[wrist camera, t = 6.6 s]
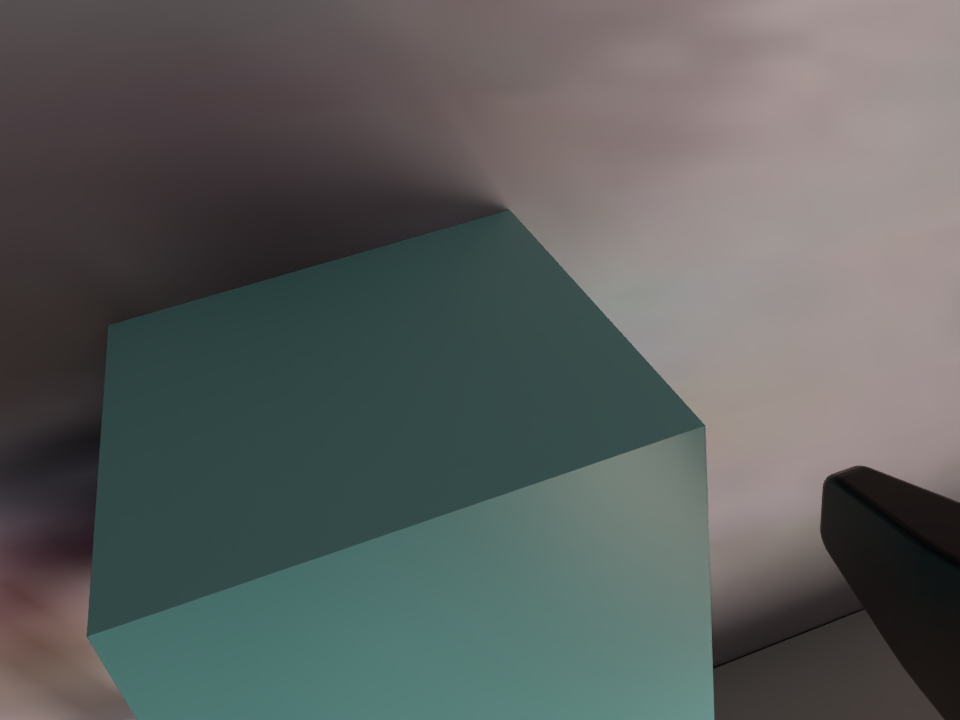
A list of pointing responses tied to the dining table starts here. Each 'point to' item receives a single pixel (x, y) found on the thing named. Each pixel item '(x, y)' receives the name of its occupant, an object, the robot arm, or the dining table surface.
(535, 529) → the teal cube
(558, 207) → the dining table surface
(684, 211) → the dining table surface
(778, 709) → the breaker panel
